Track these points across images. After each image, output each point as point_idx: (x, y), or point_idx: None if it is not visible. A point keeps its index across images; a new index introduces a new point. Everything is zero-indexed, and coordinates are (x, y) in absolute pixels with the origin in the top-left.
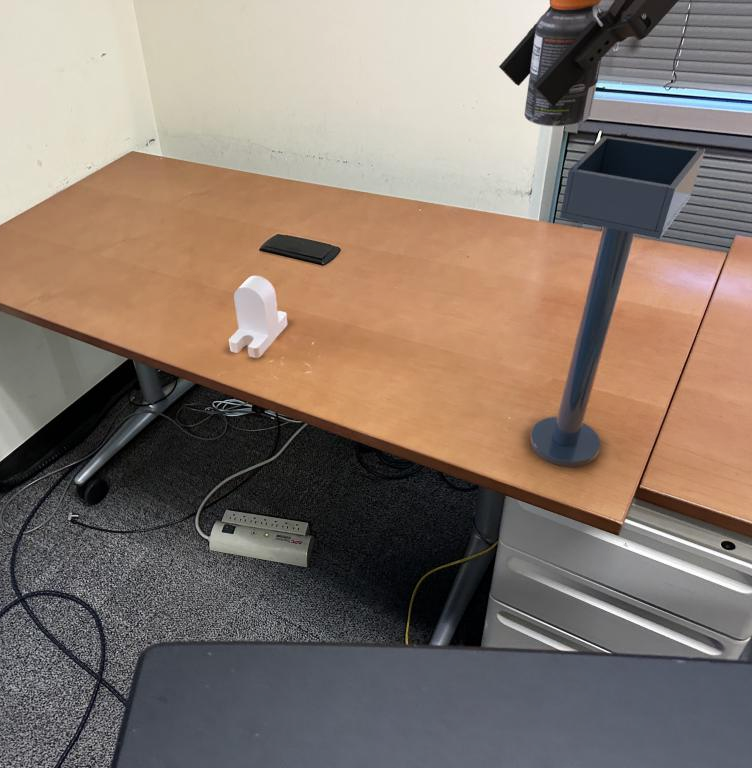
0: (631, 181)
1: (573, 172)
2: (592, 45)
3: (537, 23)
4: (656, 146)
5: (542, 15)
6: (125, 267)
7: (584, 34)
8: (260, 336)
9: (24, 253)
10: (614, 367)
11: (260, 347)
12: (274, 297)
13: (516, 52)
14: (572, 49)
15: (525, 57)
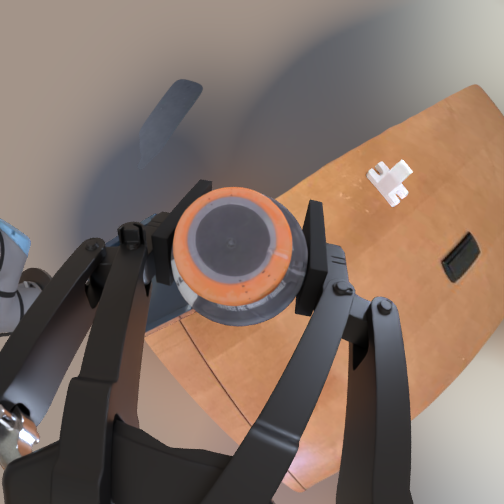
0: (107, 242)
1: (151, 215)
2: (151, 227)
3: (277, 201)
4: (146, 325)
5: (286, 214)
6: (470, 153)
7: (166, 221)
8: (379, 179)
9: (487, 120)
10: (251, 366)
11: (370, 175)
12: (395, 184)
13: (310, 213)
14: (175, 208)
15: (305, 232)
